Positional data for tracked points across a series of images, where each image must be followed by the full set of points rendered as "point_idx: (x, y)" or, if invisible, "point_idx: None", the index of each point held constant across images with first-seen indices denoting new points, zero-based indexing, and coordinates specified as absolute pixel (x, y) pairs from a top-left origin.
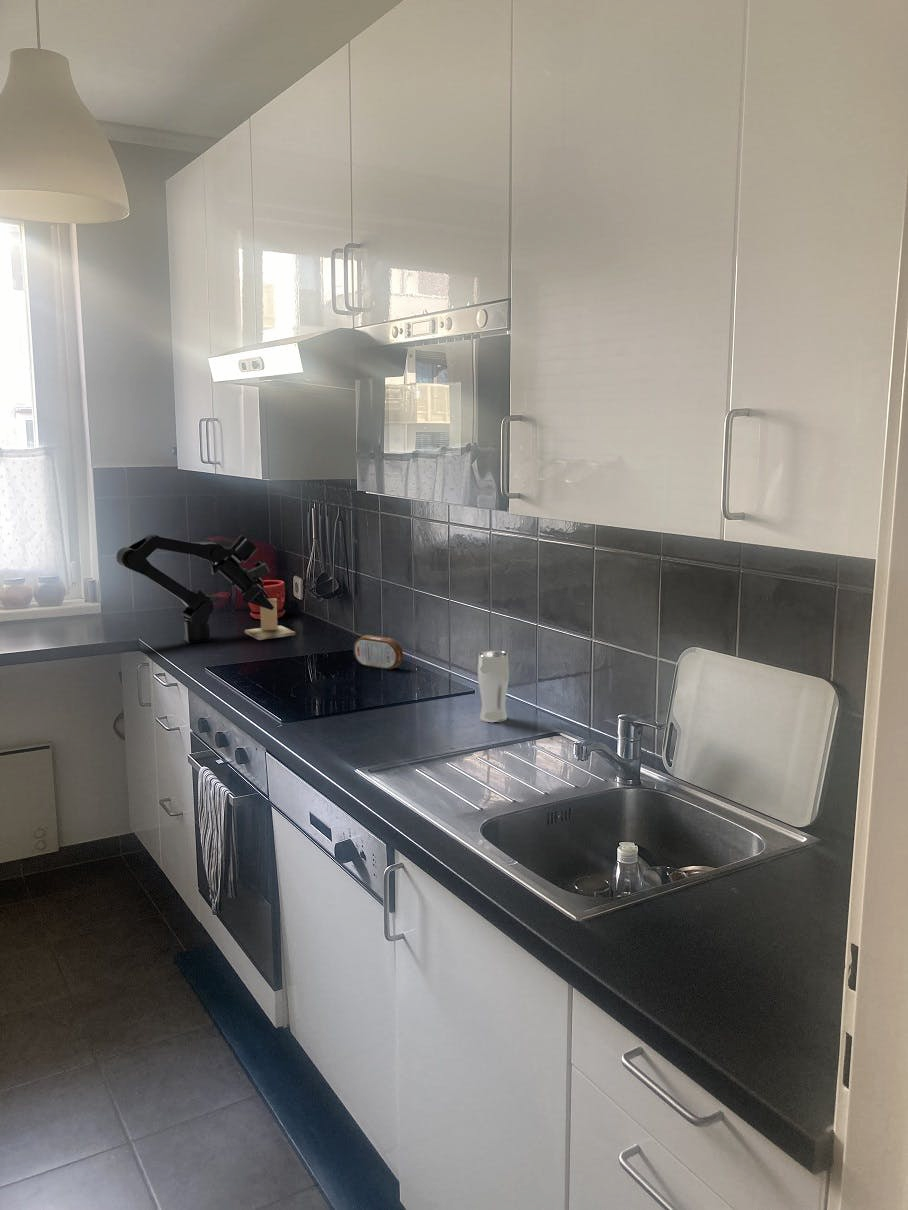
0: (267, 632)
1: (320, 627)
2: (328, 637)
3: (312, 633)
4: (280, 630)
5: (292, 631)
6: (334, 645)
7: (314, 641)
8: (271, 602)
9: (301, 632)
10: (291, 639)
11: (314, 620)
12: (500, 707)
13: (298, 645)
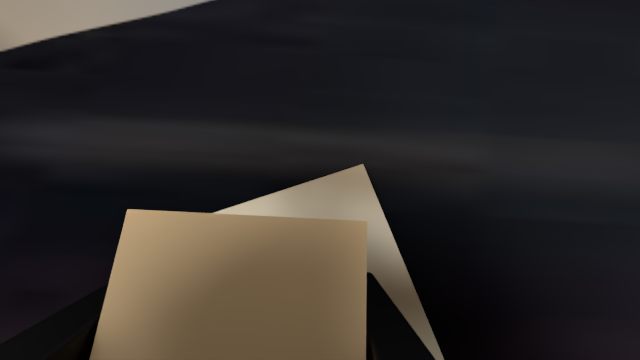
0: None
1: (207, 45)
2: (446, 30)
3: (338, 87)
4: None
5: (344, 177)
6: (622, 20)
7: (530, 91)
8: (362, 299)
9: (297, 136)
10: (467, 197)
11: (24, 59)
12: None
13: (624, 170)
